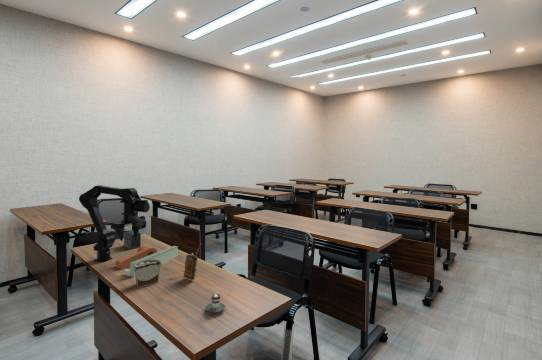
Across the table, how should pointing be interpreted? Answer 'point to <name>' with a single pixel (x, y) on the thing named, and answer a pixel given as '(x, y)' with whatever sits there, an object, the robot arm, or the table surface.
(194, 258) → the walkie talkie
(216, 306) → the grey knobbed lid
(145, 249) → the crank
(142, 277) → the food container
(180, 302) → the table surface
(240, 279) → the table surface
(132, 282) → the table surface
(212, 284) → the table surface
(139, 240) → the small box
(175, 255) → the chute mount
